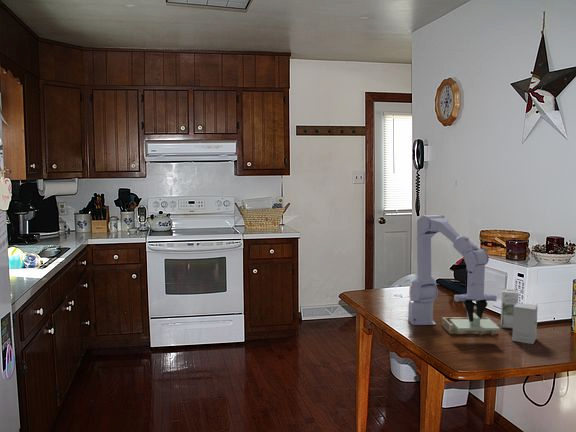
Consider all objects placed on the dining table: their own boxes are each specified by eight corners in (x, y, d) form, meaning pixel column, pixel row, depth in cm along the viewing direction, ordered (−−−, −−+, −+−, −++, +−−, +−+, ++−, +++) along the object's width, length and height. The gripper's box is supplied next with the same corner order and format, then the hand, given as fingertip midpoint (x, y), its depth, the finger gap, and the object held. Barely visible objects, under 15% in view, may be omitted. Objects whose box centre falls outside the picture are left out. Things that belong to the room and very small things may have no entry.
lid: (458, 330, 187) (458, 320, 187) (450, 321, 197) (450, 311, 196) (499, 330, 187) (500, 319, 187) (489, 321, 197) (489, 311, 196)
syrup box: (516, 325, 212) (517, 289, 211) (517, 329, 206) (518, 292, 205) (500, 323, 214) (501, 288, 212) (501, 328, 208) (502, 291, 207)
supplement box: (534, 344, 189) (535, 309, 188) (511, 340, 193) (512, 306, 192) (536, 338, 195) (538, 304, 194) (515, 335, 199) (516, 302, 198)
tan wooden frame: (450, 335, 200) (451, 322, 199) (440, 325, 212) (441, 313, 212) (499, 335, 200) (499, 322, 199) (486, 324, 213) (486, 313, 212)
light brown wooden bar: (472, 314, 211) (473, 309, 211) (462, 306, 223) (463, 301, 223) (479, 314, 211) (479, 309, 211) (468, 306, 223) (468, 301, 223)
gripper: (458, 285, 186) (457, 324, 187) (500, 285, 186) (499, 323, 187) (452, 281, 193) (451, 318, 194) (492, 281, 193) (491, 318, 194)
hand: (474, 320), depth 191 cm, fingers closed on lid, 2 cm apart
